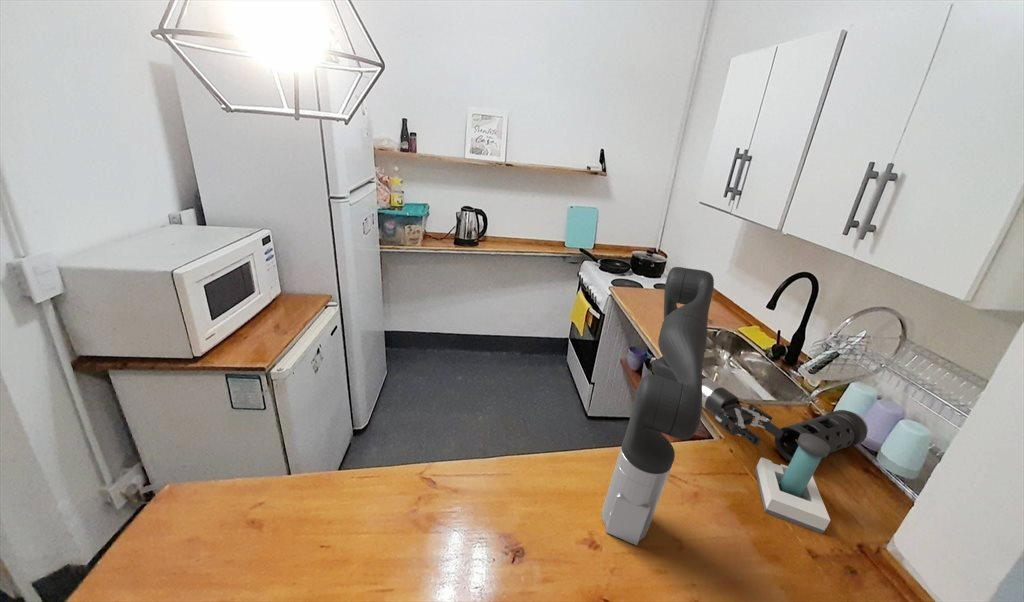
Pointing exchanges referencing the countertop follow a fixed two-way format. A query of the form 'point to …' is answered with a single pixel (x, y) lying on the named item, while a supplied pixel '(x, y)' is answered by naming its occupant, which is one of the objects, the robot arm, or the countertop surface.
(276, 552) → the countertop surface
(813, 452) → the peg
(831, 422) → the muzzle brake
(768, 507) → the keyhole plate
